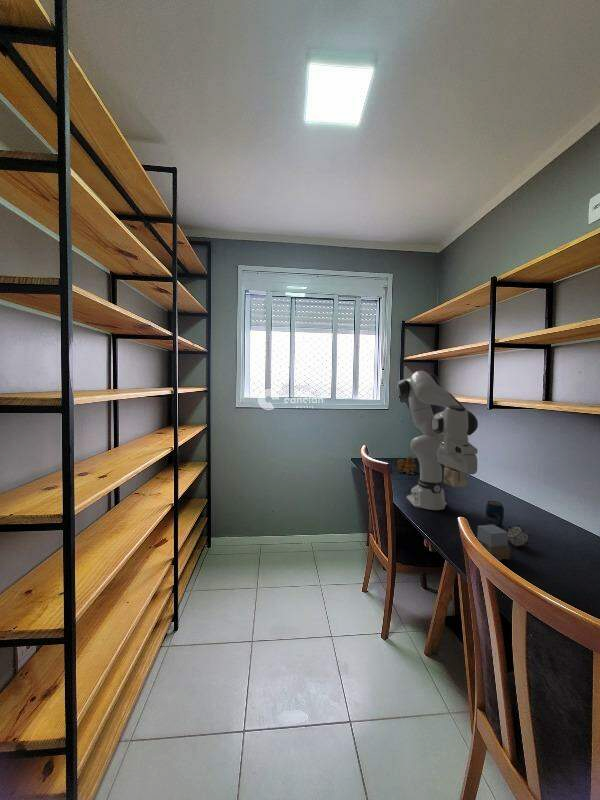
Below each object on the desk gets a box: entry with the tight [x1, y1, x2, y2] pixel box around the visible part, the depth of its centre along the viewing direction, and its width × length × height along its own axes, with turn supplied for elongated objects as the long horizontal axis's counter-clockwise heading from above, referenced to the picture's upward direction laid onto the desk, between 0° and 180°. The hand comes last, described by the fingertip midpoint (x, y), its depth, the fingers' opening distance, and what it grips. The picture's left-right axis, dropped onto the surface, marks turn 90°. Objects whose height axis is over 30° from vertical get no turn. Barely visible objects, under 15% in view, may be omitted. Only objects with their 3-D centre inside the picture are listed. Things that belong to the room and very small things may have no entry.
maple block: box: [443, 468, 468, 488], centre depth 127 cm, size 6×6×6 cm
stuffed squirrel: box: [396, 455, 417, 474], centre depth 236 cm, size 10×14×13 cm
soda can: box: [484, 500, 505, 530], centre depth 142 cm, size 7×7×12 cm
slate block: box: [477, 524, 509, 547], centre depth 120 cm, size 7×7×5 cm
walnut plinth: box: [476, 537, 511, 561], centre depth 120 cm, size 8×8×5 cm
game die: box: [505, 524, 532, 549], centre depth 127 cm, size 9×8×10 cm
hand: (455, 479), depth 127 cm, fingers closed on maple block, 6 cm apart
